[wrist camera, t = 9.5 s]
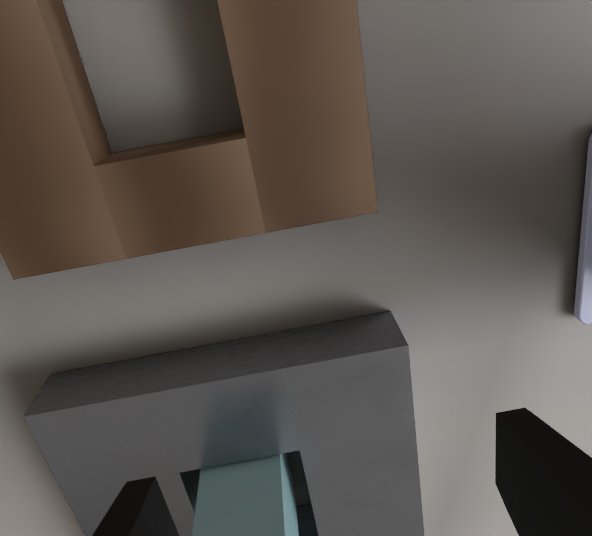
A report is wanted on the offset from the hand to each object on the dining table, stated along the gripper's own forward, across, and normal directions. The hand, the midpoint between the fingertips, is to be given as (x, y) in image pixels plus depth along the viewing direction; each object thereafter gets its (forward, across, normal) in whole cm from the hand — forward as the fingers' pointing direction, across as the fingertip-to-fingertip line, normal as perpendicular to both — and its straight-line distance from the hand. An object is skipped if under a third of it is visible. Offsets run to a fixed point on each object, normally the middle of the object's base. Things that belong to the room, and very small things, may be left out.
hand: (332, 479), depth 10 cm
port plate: (+9, +4, +9) cm, 13 cm away
